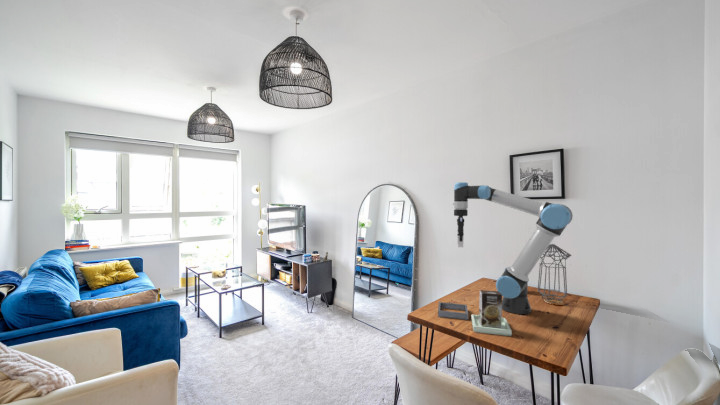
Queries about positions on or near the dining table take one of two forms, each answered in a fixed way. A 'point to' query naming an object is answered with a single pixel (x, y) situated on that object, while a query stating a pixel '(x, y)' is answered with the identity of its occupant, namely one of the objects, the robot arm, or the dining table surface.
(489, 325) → the coffee box
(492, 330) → the tray
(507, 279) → the robot arm
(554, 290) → the geometric lantern
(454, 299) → the dining table surface
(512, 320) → the dining table surface
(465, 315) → the frame
